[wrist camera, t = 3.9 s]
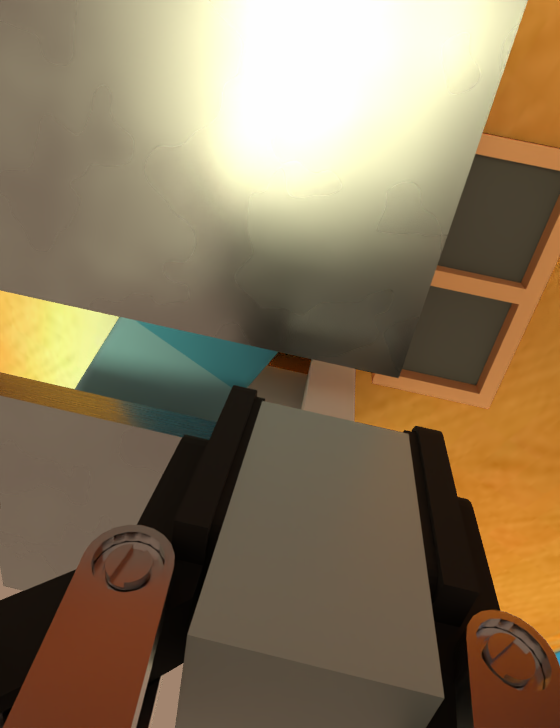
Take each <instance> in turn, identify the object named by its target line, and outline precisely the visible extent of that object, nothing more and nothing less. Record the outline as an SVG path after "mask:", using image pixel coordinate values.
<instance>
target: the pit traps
mask: <svg viewBox="0 0 560 728" xmlns="http://www.w3.org/2000/svg"><path fill="white" fill-rule="evenodd" d="M559 257H560V148H556V147H551V146H546V145H541V144H536V143H531V142H526V141H521V140H516V139H511V138H506V137H501V136H496V135H491V134H486V133H482V136H481V139H480V142H479V145H478V148H477V151H476V153H475V156H474V159H473V162H472V165H471V168H470V171H469V174H468V177H467V180H466V183H465V186H464V189H463V192H462V194H461V197H460V200H459V203H458V206H457V209H456V212H455V215H454V218H453V221H452V224H451V227H450V230H449V233H448V235H447V238H446V241H445V244H444V247H443V250H442V253H441V256H440V259H439V262H438V265H437V268H436V271H435V274H434V276H433V279H432V282H431V285H430V288H429V291H428V294H427V297H426V300H425V303H424V306H423V309H422V312H421V315H420V317H419V320H418V323H417V326H416V329H415V332H414V335H413V338H412V341H411V344H410V347H409V350H408V353H407V355H406V358H405V361H404V364H403V367H402V370H401V373H400V376H399V378H394V377H390V376H385V375H381V374H376V373H372V383H373V384H378V385H382V386H387V387H391V388H396V389H400V390H405V391H409V392H414V393H418V394H423V395H427V396H432V397H436V398H441V399H445V400H450V401H454V402H459V403H463V404H468V405H472V406H477V407H481V408H486V409H489V407H490V405H491V403H492V401H493V399H494V397H495V394H496V392H497V390H498V388H499V386H500V384H501V382H502V379H503V377H504V375H505V373H506V371H507V369H508V366H509V364H510V362H511V360H512V358H513V356H514V354H515V351H516V349H517V347H518V345H519V343H520V341H521V339H522V336H523V334H524V332H525V330H526V328H527V326H528V323H529V321H530V319H531V317H532V315H533V313H534V311H535V308H536V306H537V304H538V302H539V300H540V298H541V295H542V293H543V291H544V289H545V287H546V285H547V283H548V280H549V278H550V276H551V274H552V272H553V270H554V268H555V265H556V263H557V261H558V259H559Z"/></svg>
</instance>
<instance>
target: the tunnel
mask: <svg viewBox="0 0 560 728" xmlns="http://www.w3.org/2000/svg"><path fill="white" fill-rule="evenodd" d="M527 1H528V0H0V290H1V291H6V292H10V293H15V294H19V295H24V296H28V297H33V298H37V299H42V300H46V301H51V302H55V303H60V304H64V305H69V306H73V307H78V308H83V309H87V310H92V311H96V312H101V313H105V314H110V315H114V316H119V317H123V318H128V319H132V320H137V321H141V322H146V323H150V324H155V325H159V326H164V327H168V328H173V329H177V330H182V331H186V332H191V333H195V334H200V335H204V336H209V337H214V338H218V339H223V340H227V341H232V342H236V343H241V344H245V345H250V346H254V347H259V348H263V349H268V350H272V351H277V352H281V353H286V354H290V355H295V356H299V357H304V358H308V359H313V360H317V361H322V362H326V363H331V364H335V365H340V366H345V367H349V368H354V369H358V370H363V371H367V372H372V373H376V374H381V375H385V376H390V377H394V378H399V376H400V373H401V370H402V367H403V364H404V361H405V358H406V355H407V353H408V350H409V347H410V344H411V341H412V338H413V335H414V332H415V329H416V326H417V323H418V320H419V317H420V315H421V312H422V309H423V306H424V303H425V300H426V297H427V294H428V291H429V288H430V285H431V282H432V279H433V276H434V274H435V271H436V268H437V265H438V262H439V259H440V256H441V253H442V250H443V247H444V244H445V241H446V238H447V235H448V233H449V230H450V227H451V224H452V221H453V218H454V215H455V212H456V209H457V206H458V203H459V200H460V197H461V194H462V192H463V189H464V186H465V183H466V180H467V177H468V174H469V171H470V168H471V165H472V162H473V159H474V156H475V153H476V151H477V148H478V145H479V142H480V139H481V136H482V133H483V130H484V127H485V124H486V121H487V118H488V115H489V112H490V110H491V107H492V104H493V101H494V98H495V95H496V92H497V89H498V86H499V83H500V80H501V77H502V74H503V71H504V69H505V66H506V63H507V60H508V57H509V54H510V51H511V48H512V45H513V42H514V39H515V36H516V33H517V30H518V28H519V25H520V22H521V19H522V16H523V13H524V10H525V7H526V4H527ZM216 423H217V422H215V421H210V420H206V419H202V418H197V417H193V416H189V415H184V414H180V413H175V412H171V411H167V410H162V409H158V408H154V407H149V406H145V405H140V404H136V403H132V402H127V401H123V400H119V399H114V398H110V397H105V396H101V395H97V394H92V393H88V392H84V391H79V390H75V389H70V388H66V387H62V386H57V385H53V384H48V383H44V382H40V381H35V380H31V379H27V378H22V377H18V376H13V375H9V374H5V373H0V568H1V574H2V580H3V585H4V586H6V587H11V588H15V589H19V590H23V591H24V590H27V589H29V588H32V587H34V586H36V585H39V584H41V583H44V582H46V581H49V580H51V579H53V578H56V577H58V576H61V575H63V574H66V573H68V572H70V571H73V570H75V569H77V567H78V565H79V562H80V560H81V558H82V556H83V554H84V552H85V551H86V549H87V548H88V546H89V545H90V543H91V542H92V541H93V540H95V539H96V538H97V537H98V536H99V535H101V534H102V533H104V532H106V531H108V530H111V529H113V528H115V527H120V526H125V525H137V523H138V521H139V519H140V517H141V515H142V513H143V511H144V510H145V508H146V506H147V504H148V502H149V500H150V498H151V496H152V494H153V492H154V490H155V488H156V486H157V484H158V483H159V481H160V479H161V477H162V475H163V473H164V471H165V469H166V467H167V465H168V463H169V461H170V459H171V457H172V456H173V454H174V452H175V450H176V448H177V446H178V444H179V442H180V440H181V439H182V437H183V436H184V435H185V434H186V435H190V436H195V437H199V438H203V439H208V440H209V439H210V437H211V434H212V432H213V430H214V427H215V425H216Z"/></svg>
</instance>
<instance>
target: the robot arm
mask: <svg viewBox="0 0 560 728" xmlns="http://www.w3.org/2000/svg"><path fill="white" fill-rule="evenodd" d="M257 392H258V391H257V390H254V389H250V388H245V387H241V386H236V385H233V387H232V389H231V391H230V393H229V395H228V398H227V400H226V402H225V405H224V407H223V409H222V411H221V414H220V416H219V418H218V421H217V423H216V425H215V427H214V430H213V432H212V434H211V437H210V439H209V440H208V439H203V438H199V437H195V436H190V435H186V434H185V435H184V436H183V437H182V439H181V440H180V442H179V444H178V446H177V448H176V450H175V452H174V454H173V456H172V457H171V459H170V461H169V463H168V465H167V467H166V469H165V471H164V473H163V475H162V477H161V479H160V481H159V483H158V484H157V486H156V488H155V490H154V492H153V494H152V496H151V498H150V500H149V502H148V504H147V506H146V508H145V510H144V511H143V513H142V515H141V517H140V519H139V521H138V523H137V525H125V526H120V527H115V528H113V529H111V530H108V531H106V532H104V533H102V534H101V535H99V536H98V537H97V538H96V539H95V540H93V541H92V542H91V543H90V545H89V546H88V548H87V549H86V551H85V552H84V554H83V556H82V558H81V560H80V562H79V565H78V567H77V569H75V570H73V571H70V572H68V573H66V574H63V575H61V576H58V577H56V578H53V579H51V580H49V581H46V582H44V583H41V584H39V585H36V586H34V587H32V588H29V589H27V590H24V591H22V592H20V593H17V594H15V595H12V596H10V597H8V598H5V599H2V600H0V728H151V726H152V721H153V718H154V714H155V709H156V705H157V701H158V696H159V692H160V688H161V683H162V680H163V675H164V674H165V673H167V672H169V671H170V670H172V669H174V668H176V667H177V666H179V665H181V664H182V663H184V657H185V649H186V641H187V634H188V631H189V628H190V625H191V622H192V619H193V616H194V612H195V609H196V606H197V603H198V600H199V597H200V594H201V591H202V588H203V584H204V581H205V578H206V575H207V572H208V569H209V566H210V563H211V559H212V556H213V553H214V550H215V547H216V544H217V541H218V538H219V535H220V531H221V528H222V525H223V522H224V519H225V516H226V513H227V510H228V506H229V503H230V500H231V497H232V494H233V491H234V488H235V485H236V482H237V478H238V475H239V472H240V469H241V466H242V463H243V460H244V457H245V454H246V450H247V447H248V444H249V441H250V438H251V435H252V432H253V429H254V425H255V422H256V419H257V416H258V413H259V410H260V407H261V404H262V401H265V398H260V397H257ZM403 433H407V434H409V441H410V448H411V456H412V463H413V470H414V478H415V485H416V492H417V500H418V507H419V514H420V522H421V529H422V536H423V544H424V551H425V559H426V566H427V573H428V581H429V588H430V595H431V603H432V610H433V617H434V625H435V632H436V639H437V647H438V654H439V661H440V669H441V676H442V684H443V691H444V700H443V701H442V703H441V705H440V706H439V708H438V709H437V711H436V712H435V714H434V716H433V717H432V719H431V720H430V722H429V723H428V725H427V727H426V728H560V665H559V663H558V660H557V658H556V655H555V653H554V652H553V650H552V649H551V647H550V646H549V644H548V643H547V641H546V640H545V639H544V638H543V637H542V636H541V635H540V634H539V633H538V632H537V631H536V630H535V629H534V628H533V627H531V626H530V625H529V624H527V623H526V622H524V621H523V620H522V619H520V618H518V617H516V616H514V615H511V614H509V613H507V612H503V611H500V608H499V604H498V600H497V596H496V593H495V589H494V585H493V581H492V578H491V574H490V570H489V566H488V563H487V559H486V555H485V551H484V547H483V544H482V540H481V536H480V532H479V529H478V525H477V521H476V517H475V514H474V510H473V507H472V504H471V502H470V501H469V500H468V499H464V498H460V497H457V493H456V488H455V484H454V480H453V476H452V471H451V467H450V463H449V458H448V454H447V450H446V446H445V441H444V437H443V434H442V432H440V431H436V430H432V429H428V428H423V427H419V426H415V427H414V428H413V429H412V432H411V431H406V430H405V431H404V432H403Z"/></svg>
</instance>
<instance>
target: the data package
mask: <svg viewBox="0 0 560 728" xmlns="http://www.w3.org/2000/svg"><path fill="white" fill-rule="evenodd" d="M277 353H278V352H277V351H272V350H268V349H263V348H259V347H254V346H250V345H245V344H241V343H236V342H232V341H227V340H223V339H218V338H214V337H209V336H204V335H200V334H195V333H191V332H186V331H182V330H177V329H173V328H168V327H164V326H159V325H155V324H150V323H146V322H141V321H137V320H132V319H128V318H123V317H119V319H118V320H117V322H116V324H115V325H114V327H113V328H112V330H111V332H110V333H109V335H108V336H107V338H106V340H105V341H104V343H103V344H102V346H101V348H100V349H99V351H98V353H97V354H96V356H95V357H94V359H93V361H92V362H91V364H90V365H89V367H88V369H87V370H86V372H85V373H84V375H83V377H82V378H81V380H80V381H79V383H78V385H77V387H76V388H75V390H79V391H84V392H88V393H92V394H97V395H101V396H105V397H110V398H114V399H119V400H123V401H127V402H132V403H136V404H140V405H145V406H149V407H154V408H158V409H162V410H167V411H171V412H175V413H180V414H184V415H189V416H193V417H197V418H202V419H206V420H210V421H215V422H217V421H218V418H219V416H220V414H221V411H222V409H223V407H224V405H225V402H226V400H227V398H228V395H229V393H230V391H231V389H232V387H233V385H236V386H241V387H245V388H248V387H249V385H250V384H251V383H252V382H253V381H254V380H255V378H256V377H257V376H258V375H259V374H260V373H261V372H262V370H263V369H264V368H265V367H266V366H267V365H268V364H269V362H270V361H271V360H272V359H273V358H274V357H275V355H276V354H277Z"/></svg>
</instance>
